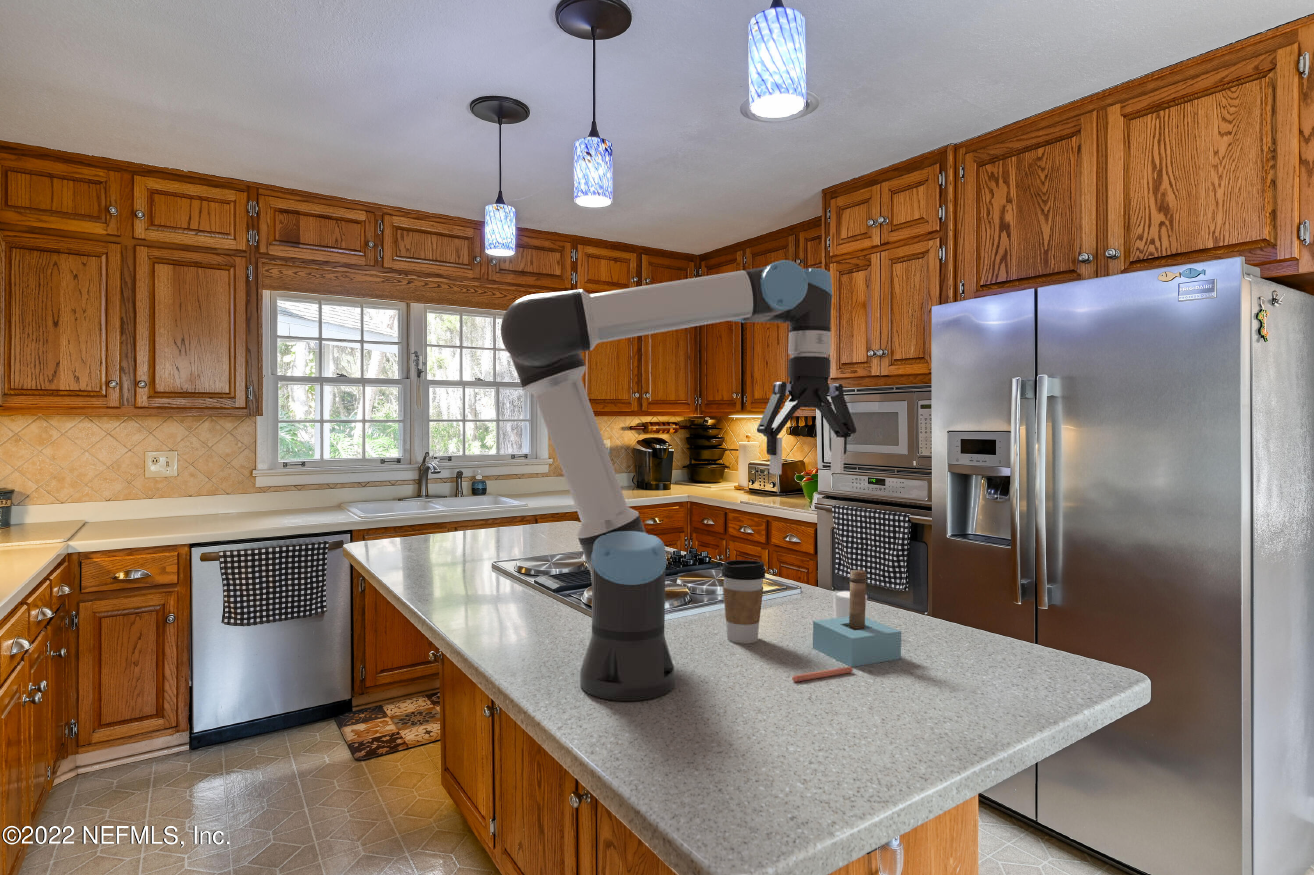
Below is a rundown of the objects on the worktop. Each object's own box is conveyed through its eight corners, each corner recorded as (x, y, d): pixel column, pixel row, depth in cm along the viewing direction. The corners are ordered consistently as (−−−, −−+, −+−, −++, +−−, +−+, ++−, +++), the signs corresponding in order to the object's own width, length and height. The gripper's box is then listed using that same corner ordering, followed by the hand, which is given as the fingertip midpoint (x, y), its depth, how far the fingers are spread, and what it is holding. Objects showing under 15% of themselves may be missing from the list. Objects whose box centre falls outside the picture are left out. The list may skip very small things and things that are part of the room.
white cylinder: (870, 633, 142) (871, 598, 142) (835, 633, 143) (836, 598, 142) (861, 623, 149) (862, 590, 149) (828, 622, 149) (829, 589, 149)
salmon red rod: (794, 683, 115) (794, 677, 115) (790, 681, 116) (790, 675, 116) (853, 673, 120) (854, 667, 120) (850, 671, 121) (850, 665, 121)
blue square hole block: (851, 667, 123) (851, 638, 123) (812, 647, 133) (813, 621, 133) (900, 659, 128) (901, 631, 127) (859, 640, 138) (860, 615, 137)
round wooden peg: (855, 656, 128) (857, 573, 128) (844, 651, 131) (846, 570, 131) (868, 654, 130) (869, 572, 129) (857, 649, 132) (859, 569, 132)
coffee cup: (750, 648, 132) (751, 568, 132) (711, 639, 137) (713, 561, 137) (772, 637, 139) (773, 561, 138) (734, 629, 144) (735, 555, 143)
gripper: (761, 351, 121) (759, 476, 122) (877, 358, 132) (874, 473, 132) (739, 354, 128) (737, 472, 129) (850, 360, 138) (848, 470, 139)
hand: (806, 473), depth 131 cm, fingers open, 13 cm apart
